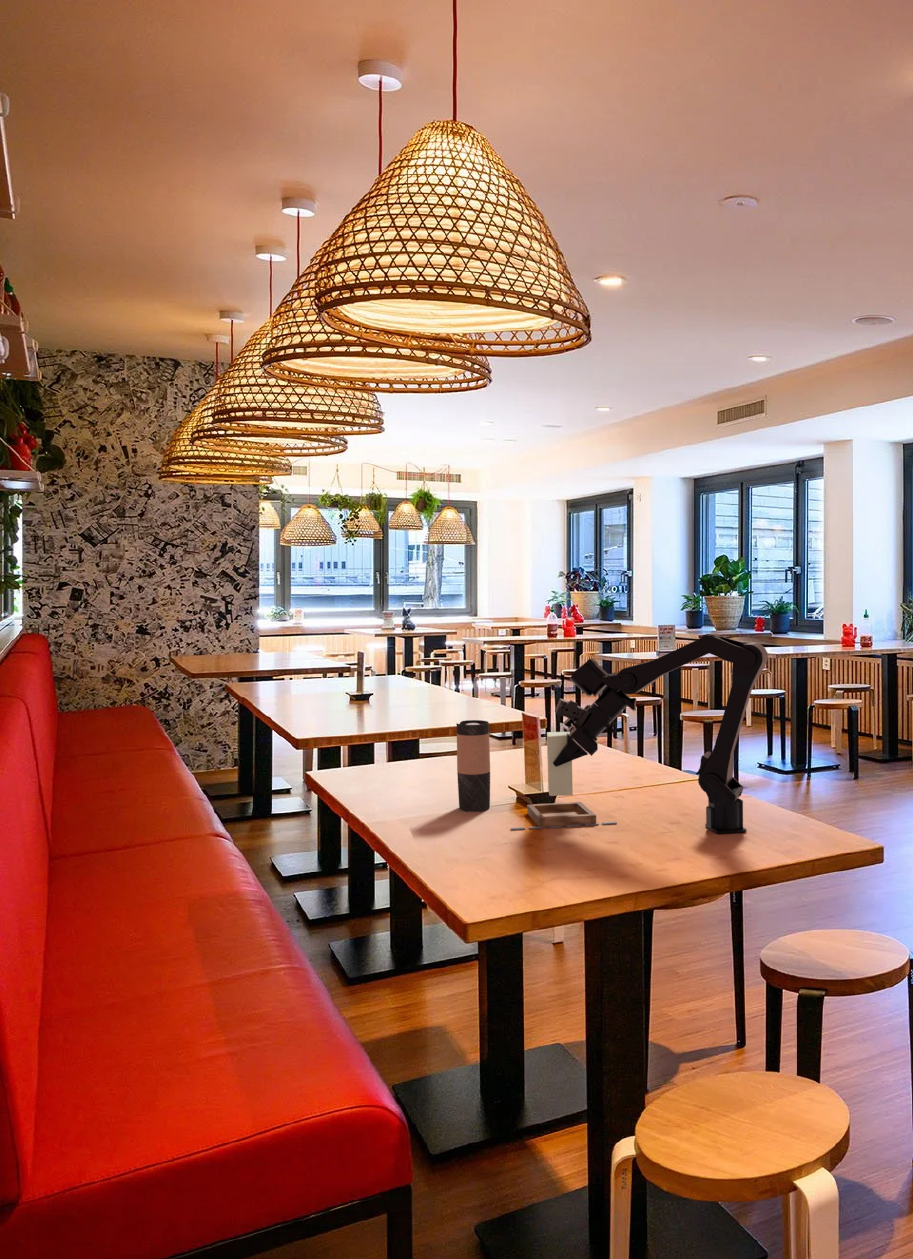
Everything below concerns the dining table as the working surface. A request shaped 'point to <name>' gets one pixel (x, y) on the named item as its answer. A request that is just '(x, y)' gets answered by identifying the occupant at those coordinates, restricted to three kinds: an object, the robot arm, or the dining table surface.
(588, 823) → the perforation line
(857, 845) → the dining table surface
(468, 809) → the travel mug
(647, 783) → the dining table surface
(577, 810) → the stub tray
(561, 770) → the stub block
